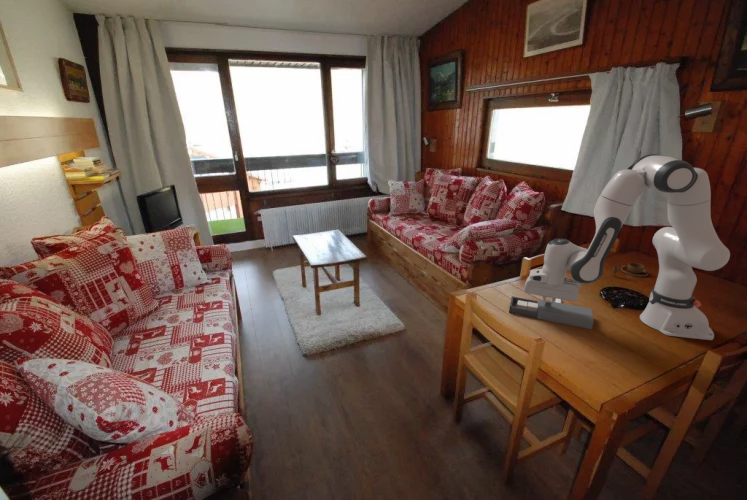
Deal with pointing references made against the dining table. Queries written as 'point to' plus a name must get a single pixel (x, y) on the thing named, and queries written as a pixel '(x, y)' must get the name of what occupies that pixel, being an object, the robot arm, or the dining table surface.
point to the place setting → (632, 269)
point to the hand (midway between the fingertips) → (547, 304)
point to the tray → (521, 311)
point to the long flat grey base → (566, 314)
